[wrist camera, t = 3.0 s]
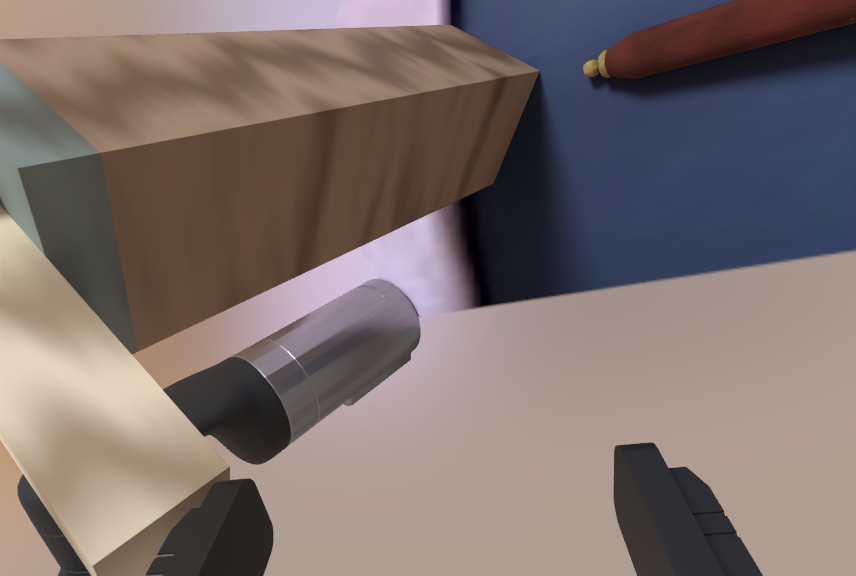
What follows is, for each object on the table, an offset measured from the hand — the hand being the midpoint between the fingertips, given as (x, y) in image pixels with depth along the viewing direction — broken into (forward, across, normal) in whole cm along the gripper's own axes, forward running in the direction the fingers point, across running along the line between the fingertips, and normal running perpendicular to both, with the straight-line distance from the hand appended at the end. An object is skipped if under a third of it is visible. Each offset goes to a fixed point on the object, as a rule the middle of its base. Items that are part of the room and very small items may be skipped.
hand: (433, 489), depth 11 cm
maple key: (+5, -11, +3) cm, 13 cm away
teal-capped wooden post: (+32, +3, +4) cm, 33 cm away
